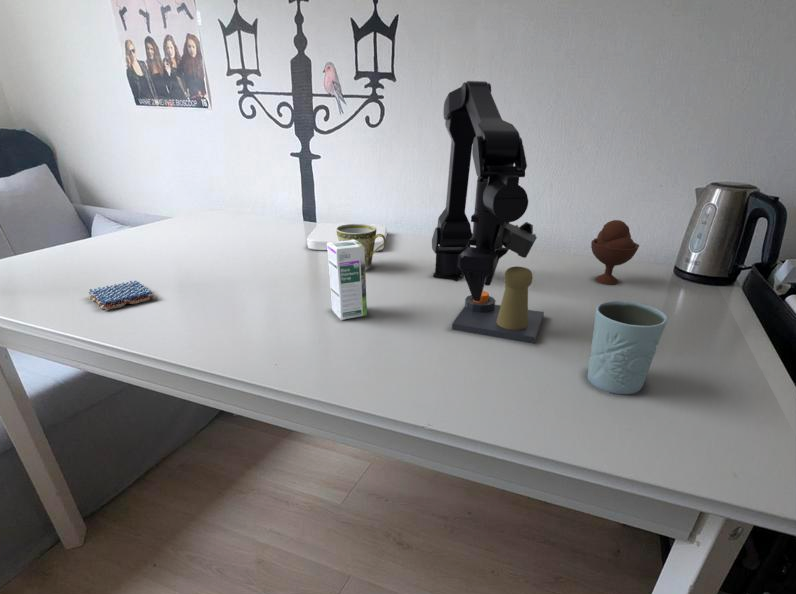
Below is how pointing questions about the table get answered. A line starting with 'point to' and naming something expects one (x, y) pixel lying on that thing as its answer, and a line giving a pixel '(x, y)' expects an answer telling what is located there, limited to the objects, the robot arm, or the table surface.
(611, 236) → the ice cream bowl
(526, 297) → the cork
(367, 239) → the ceramic cup
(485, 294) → the button
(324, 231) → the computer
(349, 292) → the syrup box
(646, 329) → the light blue embossed pot
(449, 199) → the robot arm
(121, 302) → the woven mat
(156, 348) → the table surface
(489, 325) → the dark grey base plate
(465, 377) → the table surface
